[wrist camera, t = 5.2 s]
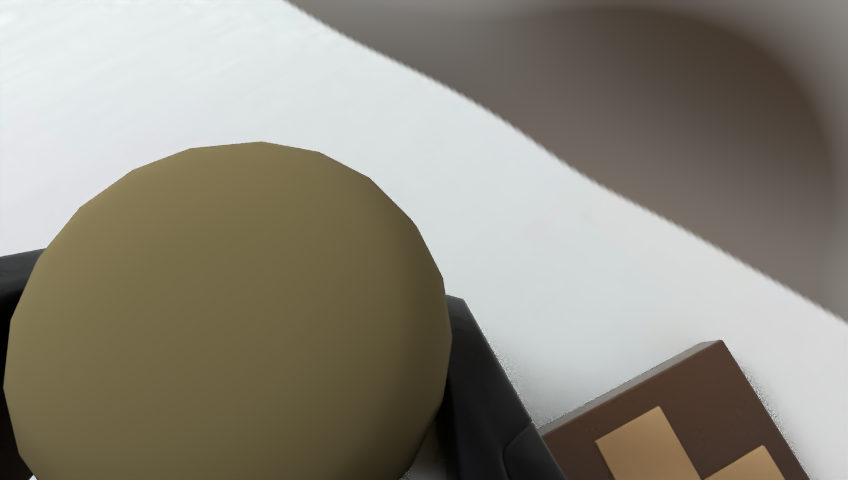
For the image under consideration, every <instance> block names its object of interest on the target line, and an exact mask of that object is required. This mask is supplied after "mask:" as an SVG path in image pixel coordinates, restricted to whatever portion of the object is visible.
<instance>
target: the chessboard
mask: <svg viewBox="0 0 848 480" xmlns="http://www.w3.org/2000/svg"><path fill="white" fill-rule="evenodd" d="M538 431H539V433H540V435H541V437H542V439H543V440H544V442H545V444H546V445H547V447H548V449H549V450H550V452H551V454H552V455H553V457H554V459H555V460H556V462H557V464H558V465H559V467H560V468H561V470H562V471H563V473H564V474H565V476H566V477H567V479H568V480H810V479H809V478H808V476H807V474H806V473H805V471H804V470H803V468H802V466H801V465H800V463H799V462H798V460H797V458H796V457H795V455H794V454H793V452H792V450H791V449H790V447H789V446H788V444H787V442H786V441H785V439H784V438H783V436H782V434H781V433H780V431H779V430H778V428H777V426H776V425H775V423H774V422H773V420H772V419H771V417H770V415H769V414H768V412H767V411H766V409H765V407H764V406H763V404H762V403H761V401H760V399H759V398H758V396H757V395H756V393H755V391H754V390H753V388H752V387H751V385H750V383H749V382H748V380H747V379H746V377H745V375H744V374H743V372H742V371H741V369H740V367H739V366H738V364H737V363H736V361H735V359H734V358H733V356H732V355H731V353H730V351H729V350H728V348H727V347H726V345H725V343H724V342H723V341H722V340H716V341H709V342H701V343H699V344H697V345H695V346H694V347H692V348H690V349H688V350H686V351H684V352H682V353H680V354H679V355H677V356H675V357H673V358H671V359H669V360H667V361H665V362H664V363H662V364H660V365H658V366H656V367H654V368H652V369H650V370H649V371H647V372H645V373H643V374H641V375H639V376H637V377H635V378H633V379H632V380H630V381H628V382H626V383H624V384H622V385H620V386H618V387H617V388H615V389H613V390H611V391H609V392H607V393H605V394H603V395H602V396H600V397H598V398H596V399H594V400H592V401H590V402H588V403H586V404H585V405H583V406H581V407H579V408H577V409H575V410H573V411H571V412H570V413H568V414H566V415H564V416H562V417H560V418H558V419H556V420H555V421H553V422H551V423H549V424H547V425H545V426H543V427H541V428H540V429H538Z"/></svg>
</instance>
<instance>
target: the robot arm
mask: <svg viewBox="0 0 848 480" xmlns="http://www.w3.org/2000/svg"><path fill="white" fill-rule="evenodd" d="M45 249H46V248H44V249H39V250H34V251H29V252H23V253H18V254H13V255H7V256H2V257H0V480H29V479H30V478H31V477H32V476H33V475H34V474H33V473H32V472H31V470H30V469H29V467H28V466H27V465H26V463H25V462H24V460H23V459H22V457H21V456H20V455H19V452H18V448H17V443H16V439H15V435H14V431H13V427H12V422H11V418H10V414H9V410H8V405H7V401H6V397H5V393H4V389H3V386H4V377H5V368H6V359H7V350H8V340H9V331H10V322H11V318H12V316H13V314H14V312H15V309H16V307H17V305H18V303H19V300H20V298H21V296H22V293H23V291H24V289H25V287H26V284H27V282H28V280H29V278H30V275H31V273H32V271H33V269H34V266H35V264H36V262H37V259H38V258H39V257H40V255H41V254H42V253H43V252H44V250H45ZM446 301H447V307H448V313H449V320H450V326H451V332H452V344H451V350H450V357H449V364H448V370H447V377H446V384H445V390H444V397H443V403H442V405H441V407H440V409H439V411H438V413H437V415H436V417H435V419H434V421H433V423H432V426H431V428H430V430H429V432H428V434H427V436H426V438H425V440H424V442H423V444H422V446H421V448H420V450H419V452H418V455H417V457H416V459H415V461H414V463H413V465H412V466H411V467H410V468H409V476H408V480H568V479H567V477H566V476H565V474H564V473H563V471H562V470H561V468H560V467H559V465H558V464H557V462H556V460H555V459H554V457H553V455H552V454H551V452H550V450H549V449H548V447H547V445H546V444H545V442H544V440H543V439H542V437H541V435H540V433H539V431H538V430H537V428H536V426H535V424H534V423H531V422H532V420H531V418H530V416H529V414H528V412H527V411H526V409H525V407H524V405H523V404H522V402H521V400H520V398H519V396H518V395H517V393H516V391H515V389H514V388H513V386H512V384H511V382H510V381H509V379H508V377H507V375H506V373H505V372H504V370H503V368H502V366H501V365H500V363H499V361H498V359H497V358H496V356H495V354H494V352H493V350H492V349H491V347H490V345H489V343H488V342H487V340H486V338H485V336H484V335H483V333H482V331H481V329H480V327H479V326H478V324H477V322H476V320H475V319H474V317H473V315H472V313H471V312H470V310H469V308H468V306H467V304H466V303H465V301H464V300H463V299H461V298H457V297H453V296H450V295H446Z"/></svg>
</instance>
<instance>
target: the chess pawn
mask: <svg viewBox="0 0 848 480" xmlns="http://www.w3.org/2000/svg"><path fill="white" fill-rule="evenodd" d="M451 344H452V332H451V326H450V320H449V313H448V307H447V301H446V295H445V288H444V282H443V277H442V275H441V273H440V271H439V269H438V267H437V265H436V263H435V261H434V259H433V258H432V256H431V254H430V252H429V250H428V248H427V246H426V244H425V242H424V240H423V238H422V236H421V234H420V232H419V230H418V228H417V226H416V225H415V224H414V223H413V221H412V220H411V219H410V218H409V217H408V216H407V215H406V214H405V213H404V212H403V211H402V210H401V209H400V208H399V207H398V206H397V205H396V204H395V203H394V202H393V201H392V200H391V199H390V198H389V197H388V196H387V195H386V194H385V193H384V192H383V191H382V190H381V189H380V188H379V187H378V186H377V185H376V184H375V183H374V182H373V181H372V180H371V179H370V178H369V177H367V176H365V175H363V174H361V173H359V172H357V171H355V170H353V169H351V168H349V167H347V166H345V165H343V164H341V163H339V162H338V161H336V160H334V159H332V158H330V157H328V156H326V155H324V154H322V153H320V152H316V151H311V150H305V149H300V148H294V147H289V146H283V145H278V144H272V143H267V142H251V143H241V144H231V145H221V146H210V147H200V148H190V149H187V150H185V151H182V152H179V153H177V154H174V155H171V156H169V157H166V158H163V159H161V160H158V161H156V162H153V163H150V164H148V165H145V166H142V167H140V168H137V169H134V170H132V171H131V172H129V173H128V174H126V175H125V176H124V177H122V178H121V179H119V180H118V181H117V182H115V183H114V184H112V185H111V186H110V187H108V188H107V189H105V190H104V191H103V192H101V193H100V194H98V195H97V196H95V197H94V198H93V199H91V200H90V201H88V202H87V203H86V204H84V205H83V206H81V207H80V208H79V209H78V211H77V212H76V213H75V214H74V215H73V217H72V218H71V219H70V220H69V222H68V223H67V224H66V225H65V226H64V228H63V229H62V230H61V231H60V232H59V234H58V235H57V236H56V237H55V238H54V240H53V241H52V242H51V243H50V244H49V246H48V247H47V248H46V249H45V250H44V252H43V253H42V254H41V255H40V257H39V258H38V259H37V262H36V264H35V266H34V269H33V271H32V273H31V275H30V278H29V280H28V282H27V284H26V287H25V289H24V291H23V293H22V296H21V298H20V300H19V303H18V305H17V307H16V309H15V312H14V314H13V316H12V318H11V322H10V331H9V340H8V350H7V359H6V368H5V377H4V386H3V389H4V393H5V397H6V401H7V405H8V410H9V414H10V418H11V422H12V427H13V431H14V435H15V439H16V443H17V448H18V452H19V455H20V456H21V457H22V459H23V460H24V462H25V463H26V465H27V466H28V467H29V469H30V470H31V472H32V473H33V474H34V476H35V477H36V479H37V480H399V479H400V478H401V477H402V476H403V475H404V474H405V473H406V472H407V471H408V469H409V468H410V467H411V466H412V465H413V463H414V461H415V459H416V457H417V455H418V452H419V450H420V448H421V446H422V444H423V442H424V440H425V438H426V436H427V434H428V432H429V430H430V428H431V426H432V423H433V421H434V419H435V417H436V415H437V413H438V411H439V409H440V407H441V405H442V403H443V397H444V390H445V384H446V377H447V370H448V364H449V357H450V350H451Z"/></svg>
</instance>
